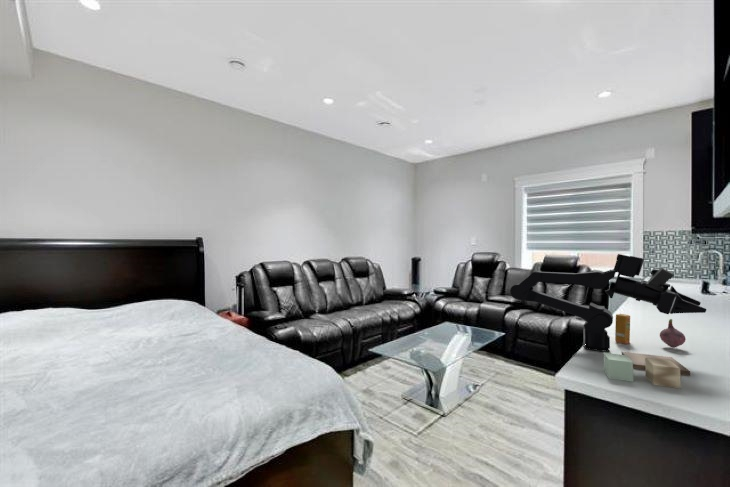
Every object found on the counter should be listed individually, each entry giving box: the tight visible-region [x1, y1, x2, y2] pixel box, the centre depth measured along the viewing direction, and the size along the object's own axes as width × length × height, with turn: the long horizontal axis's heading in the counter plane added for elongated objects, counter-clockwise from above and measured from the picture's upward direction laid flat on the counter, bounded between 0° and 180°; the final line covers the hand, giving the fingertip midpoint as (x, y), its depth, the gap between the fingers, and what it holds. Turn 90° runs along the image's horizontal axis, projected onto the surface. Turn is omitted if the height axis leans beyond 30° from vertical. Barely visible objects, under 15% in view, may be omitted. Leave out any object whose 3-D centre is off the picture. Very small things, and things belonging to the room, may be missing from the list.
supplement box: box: [614, 313, 631, 345], centre depth 113 cm, size 3×3×10 cm
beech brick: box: [645, 357, 682, 389], centre depth 80 cm, size 5×6×5 cm
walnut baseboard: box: [621, 351, 691, 377], centre depth 92 cm, size 12×12×1 cm
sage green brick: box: [603, 352, 634, 382], centre depth 85 cm, size 5×6×5 cm
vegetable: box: [659, 318, 687, 349], centre depth 106 cm, size 6×6×10 cm
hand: (703, 307), depth 91 cm, fingers open, 9 cm apart
